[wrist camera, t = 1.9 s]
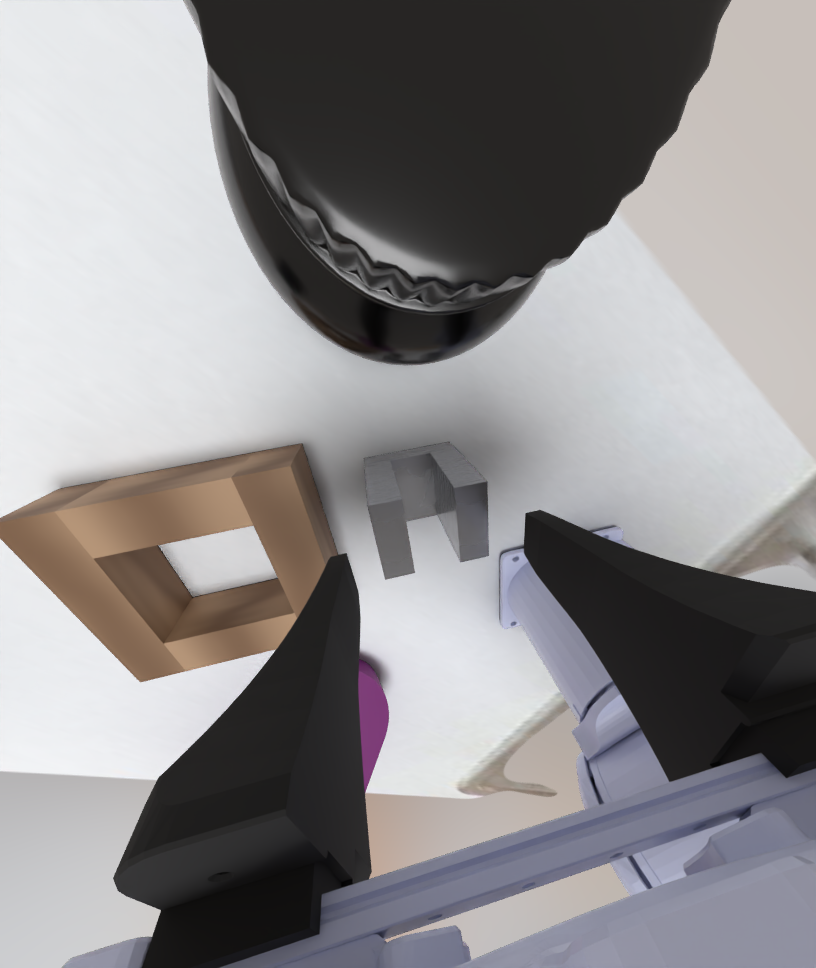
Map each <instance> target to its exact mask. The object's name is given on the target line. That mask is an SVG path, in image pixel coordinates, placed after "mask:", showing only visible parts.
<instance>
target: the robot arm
mask: <svg viewBox="0 0 816 968" xmlns="http://www.w3.org/2000/svg"><path fill="white" fill-rule="evenodd" d="M622 538H623V530H622V529H621V528H619V527H613V528H609V529H604V530H600V531H596V532H590V531H587V530H585V529H583V528H581V527H578V526H576V525H574V524H572V523H569V522H567V521H565V520H563V519H560V518H558V517H556V516H554V515H551V514H549V513H546V512H544V511H541V510H538V511H534V512H529V513H526V517H525V536H524V548H522V549H518V550H514V551H509V552H506V553H504V554H502V556H501V558H500V624H501V626H502V628H504V629H509V628H512V627H516V626H520V625H521V626H522V628H523V629H524V631H525V633H526V634H527V636H528V638H529V639H530V641H531V643H532V645H533V646H534V648H535V650H536V651H537V653H538V655H539V656H540V658H541V660H542V661H543V663H544V665H545V667H546V668H547V670H548V672H549V673H550V675H551V677H552V678H553V680H554V682H555V683H556V685H557V687H558V689H559V690H560V692H561V694H562V695H563V697H564V699H565V700H566V702H567V704H568V705H569V707H570V709H571V710H572V712H573V714H574V716H575V717H576V719H577V721H578V722H579V725H578V726H577V727H576V728H575V729H573V730H572V734H573V735H574V737H575V739H576V741H577V742H578V744H579V746H580V748H581V750H582V752H581V753H580V754H579V756H578V757H577V763H576V766H577V775H578V783H579V790H580V794H581V798H582V802H583V805H584V808H585V810H582V811H579V812H576V813H573V814H569V815H566V816H563V817H560V818H557V819H554V820H551V821H548V822H545V823H542V824H538V825H535V826H532V827H529V828H526V829H523V830H520V831H517V832H514V833H511V834H507V835H504V836H501V837H498V838H495V839H492V840H489V841H486V842H483V843H480V844H477V845H474V846H470V847H467V848H464V849H461V850H458V851H455V852H452V853H449V854H445V855H442V856H439V857H436V858H433V859H430V860H427V861H424V862H421V863H418V864H414V865H411V866H408V867H405V868H402V869H399V870H396V871H393V872H390V873H387V874H384V875H380V876H378V877H374V878H371V879H369V877H370V874H371V872H372V871H371V860H370V849H369V837H368V825H367V814H366V802H365V788H364V775H363V762H362V746H361V731H360V713H359V694H358V678H359V649H360V605H359V593H358V589H357V586H356V582H355V579H354V576H353V573H352V569H351V566H350V563H349V560H348V557H347V553H345V554H341V555H336V556H332V557H330V558H329V560H328V562H327V564H326V566H325V568H324V570H323V572H322V574H321V576H320V578H319V580H318V582H317V584H316V586H315V588H314V590H313V592H312V593H311V595H310V597H309V599H308V601H307V603H306V604H305V606H304V608H303V609H302V611H301V613H300V614H299V616H298V618H297V619H296V621H295V622H294V624H293V626H292V627H291V629H290V630H289V632H288V633H287V635H286V636H285V638H284V639H283V641H282V642H281V644H280V645H279V646H278V648H277V649H276V650H275V652H274V653H273V655H272V656H271V657H270V659H269V660H268V661H267V662H266V664H265V665H264V666H263V667H262V669H261V670H260V671H259V673H258V674H257V675H256V676H255V678H254V679H253V680H252V681H251V682H250V684H249V685H248V686H247V687H246V688H245V690H244V691H243V692H242V693H241V694H240V695H239V696H238V698H237V699H236V700H235V701H234V702H233V703H232V704H231V705H230V706H229V708H228V709H227V710H226V711H225V712H224V713H223V714H222V715H221V716H220V717H219V718H218V719H217V720H216V722H215V723H214V724H213V725H212V726H211V727H210V728H209V729H208V730H207V731H206V732H205V733H204V734H203V735H202V736H201V737H200V738H199V739H198V740H197V741H196V742H195V743H194V744H193V745H192V746H191V747H190V748H189V749H188V750H187V751H186V752H185V753H184V754H183V755H182V756H181V757H180V758H179V759H178V760H177V761H176V762H175V763H174V764H172V765H171V766H170V767H169V768H168V769H167V770H166V771H165V772H164V773H163V774H162V775H161V776H160V777H159V778H158V780H157V782H156V784H155V786H154V788H153V790H152V792H151V794H150V796H149V798H148V800H147V802H146V804H145V806H144V809H143V811H142V813H141V816H140V818H139V820H138V823H137V825H136V827H135V829H134V832H133V834H132V836H131V838H130V841H129V843H128V845H127V847H126V850H125V852H124V854H123V857H122V859H121V861H120V864H119V866H118V868H117V871H116V873H115V875H114V878H113V879H114V882H115V884H116V887H117V889H118V891H119V892H121V893H122V894H124V895H125V896H128V897H130V898H132V899H135V900H137V901H140V902H142V903H145V904H147V905H150V906H152V907H155V908H157V909H160V910H161V913H160V916H159V918H158V922H157V925H156V927H155V930H154V933H153V937H141V938H135V939H130V940H126V941H123V942H120V943H117V944H114V945H111V946H107V947H104V948H101V949H98V950H95V951H92V952H89V953H86V954H82V955H79V956H76V957H73V958H71V959H70V960H69V961H68V962H66V963H65V964H64V965H63V967H62V968H816V592H813V591H807V590H800V589H795V588H789V587H783V586H777V585H771V584H765V583H760V582H755V581H750V580H745V579H741V578H736V577H731V576H727V575H723V574H718V573H714V572H710V571H706V570H702V569H698V568H694V567H691V566H687V565H683V564H679V563H676V562H673V561H669V560H666V559H663V558H659V557H656V556H653V555H650V554H647V553H644V552H641V551H638V550H635V549H634V548H632V547H631V546H630V545H628V544H627V543H625V542H624V541H623V540H622ZM515 556H516V557H515ZM514 557H515V558H514ZM607 863H610V864H611V866H612V867H613V869H614V871H615V872H616V874H617V876H618V878H619V879H620V881H621V882H622V884H623V886H624V887H625V889H626V890H627V892H628V893H629V895H630V896H629V897H626V898H623V899H621V900H618V901H616V902H613V903H610V904H608V905H605V906H602V907H600V908H597V909H595V910H592V911H589V912H587V913H584V914H582V915H580V916H577V917H574V918H572V919H570V920H567V921H565V922H562V923H560V924H557V925H555V926H552V927H550V928H547V929H545V930H543V931H540V932H538V933H535V934H533V935H530V936H528V937H526V938H523V939H521V940H519V941H516V942H514V943H511V944H509V945H506V946H504V947H502V948H499V949H497V950H494V951H492V952H490V953H487V954H485V955H482V956H480V957H478V958H475V959H473V960H471V957H470V951H469V947H468V946H467V944H466V943H464V942H463V941H462V936H461V931H460V930H459V929H458V927H457V926H450V927H445V928H440V929H434V930H429V931H424V932H419V933H414V934H410V935H406V936H402V937H399V938H396V939H393V940H391V941H389V942H386V941H385V939H388V938H391V937H393V936H396V935H399V934H402V933H405V932H408V931H411V930H414V929H417V928H420V927H423V926H426V925H429V924H431V923H434V922H437V921H440V920H443V919H446V918H449V917H452V916H455V915H458V914H461V913H463V912H466V911H469V910H472V909H475V908H478V907H481V906H484V905H487V904H490V903H493V902H496V901H499V900H502V899H505V898H507V897H510V896H513V895H516V894H519V893H522V892H525V891H528V890H531V889H534V888H536V887H540V886H543V885H545V884H548V883H551V882H554V881H557V880H560V879H563V878H566V877H569V876H572V875H575V874H577V873H581V872H583V871H586V870H589V869H592V868H595V867H598V866H601V865H604V864H607Z"/></svg>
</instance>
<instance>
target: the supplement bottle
mask: <svg viewBox="0 0 816 968" xmlns="http://www.w3.org/2000/svg"><path fill="white" fill-rule="evenodd" d="M183 1H184V3H185V5H186V7H187V9H188V11H189V13H190V15H191V17H192V19H193V21H194V23H195V25H196V27H197V29H198V31H199V33H200V34H201V36H202V40H203V45H204V49H205V53H206V58H207V62H208V98H209V111H210V121H211V128H212V134H213V141H214V147H215V152H216V156H217V160H218V165H219V169H220V174H221V177H222V180H223V184H224V187H225V190H226V193H227V197H228V200H229V203H230V205H231V208H232V211H233V213H234V216H235V218H236V221H237V224H238V226H239V228H240V230H241V233H242V235H243V237H244V239H245V241H246V243H247V245H248V247H249V249H250V251H251V253H252V254H253V256H254V258H255V260H256V262H257V263H258V265H259V267H260V268H261V270H262V271H263V273H264V274H265V276H266V277H267V279H268V280H269V282H270V283H271V285H272V286H273V287H274V289H275V290H276V291H277V292H278V294H279V295H280V296H281V298H282V299H283V300H284V301H285V302H286V303H287V304H288V305H289V307H290V308H291V309H292V310H293V311H294V312H295V313H296V314H297V315H298V316H299V317H300V318H301V319H302V320H303V321H305V322H306V323H307V324H308V325H309V326H310V327H311V328H312V329H314V330H315V331H316V332H318V333H319V334H320V335H321V336H323V337H324V338H326V339H327V340H329V341H330V342H332V343H334V344H335V345H337V346H338V347H340V348H342V349H344V350H346V351H348V352H350V353H352V354H355V355H357V356H360V357H362V358H365V359H369V360H372V361H376V362H380V363H386V364H392V365H422V364H429V363H435V362H439V361H442V360H446V359H449V358H452V357H455V356H457V355H460V354H462V353H464V352H466V351H468V350H470V349H472V348H474V347H475V346H477V345H479V344H480V343H482V342H483V341H485V340H486V339H488V338H489V337H490V336H492V335H493V334H494V333H495V332H497V331H498V330H499V329H500V328H501V327H502V326H503V325H505V324H506V323H507V322H508V321H509V320H510V319H511V318H512V317H513V316H514V315H515V313H516V312H517V311H518V310H519V309H520V308H521V307H522V305H523V304H524V303H525V302H526V300H527V299H528V298H529V296H530V295H531V294H532V292H533V291H534V289H535V288H536V286H537V285H538V283H539V282H540V280H541V278H542V277H543V275H544V273H545V271H546V270H547V269H549V268H552V267H554V266H557V265H559V264H561V263H563V262H564V261H566V260H567V259H568V258H569V257H570V256H571V255H572V254H573V253H574V252H575V250H576V249H577V248H578V247H579V245H580V244H581V243H582V241H583V240H584V239H586V238H588V237H590V236H592V235H594V234H596V233H597V232H599V231H600V230H602V229H603V228H604V227H605V226H606V225H607V224H608V222H609V221H610V219H611V218H612V216H613V215H614V213H615V211H616V209H617V208H618V206H619V204H620V202H621V200H623V199H624V198H625V197H626V196H628V195H629V194H630V193H632V192H633V191H634V190H635V189H637V188H638V187H639V186H640V185H641V184H642V183H643V181H644V179H645V177H646V175H647V173H648V171H649V169H650V167H651V164H652V162H653V159H654V157H655V155H656V152H657V151H658V149H660V148H661V147H662V146H663V145H664V144H665V143H666V142H667V141H668V140H669V139H670V138H671V137H672V135H673V134H674V133H675V132H676V130H677V128H678V126H679V123H680V120H681V117H682V114H683V111H684V108H685V105H686V102H687V99H688V95H689V93H690V92H691V90H692V89H693V87H694V85H696V83H697V82H698V81H699V80H700V78H701V77H702V75H703V74H704V72H705V70H706V69H707V67H708V66H709V63H710V59H711V55H712V51H713V46H714V42H715V38H716V33H717V28H718V24H719V22H720V20H721V18H722V16H723V14H724V12H725V10H726V9H727V7H728V6H729V4H730V2H731V0H183Z"/></svg>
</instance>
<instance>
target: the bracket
mask: <svg viewBox="0 0 816 968" xmlns="http://www.w3.org/2000/svg"><path fill="white" fill-rule="evenodd" d="M364 467H365V480H366V492H367V504H368V510H369V514H370V518H371V522H372V526H373V531H374V535H375V539H376V543H377V547H378V551H379V556H380V560H381V564H382V568H383V572H384V576H385V580H386V579H390V578H395V577H399V576H403V575H408V574H412V573H415V571H414V565H413V559H412V553H411V548H410V542H409V536H408V531H407V525H406V521H410V520H415V519H419V518H424V517H429V516H433V515H438V517H439V519H440V521H441V523H442V525H443V527H444V529H445V531H446V534H447V536H448V538H449V540H450V542H451V544H452V546H453V548H454V550H455V552H456V554H457V556H458V558H459V560H460V562H464V561H469V560H473V559H477V558H482V557H486V556H489V544H488V494H487V481H486V480H485V478H484V477H483V476H482V475H481V474H480V473H479V472H478V471H477V470H476V469H475V468H474V467H473V466H472V465H471V464H470V463H469V462H468V461H467V460H466V459H465V458H464V457H463V456H462V454H461V453H460V452H459V451H458V450H457V449H456V448H455V447H454V446H453V445H452V444H451V443H450V442H445V443H440V444H434V445H429V446H424V447H419V448H414V449H409V450H403V451H398V452H393V453H388V454H383V455H378V456H372V457H367V458H364Z"/></svg>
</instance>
